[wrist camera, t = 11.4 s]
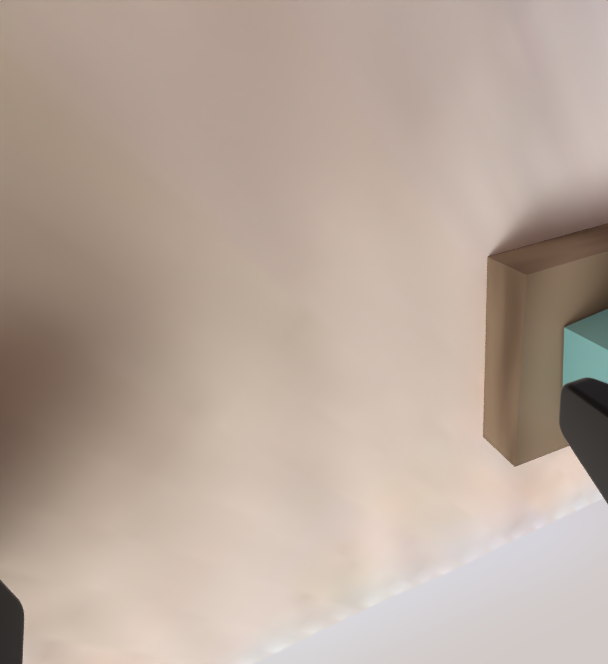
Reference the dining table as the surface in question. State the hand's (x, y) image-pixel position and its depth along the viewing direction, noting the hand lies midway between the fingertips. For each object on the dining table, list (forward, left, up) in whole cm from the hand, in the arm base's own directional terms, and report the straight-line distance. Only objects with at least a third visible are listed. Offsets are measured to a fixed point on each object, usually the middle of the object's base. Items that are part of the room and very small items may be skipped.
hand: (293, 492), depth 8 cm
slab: (+1, -19, -13) cm, 23 cm away
